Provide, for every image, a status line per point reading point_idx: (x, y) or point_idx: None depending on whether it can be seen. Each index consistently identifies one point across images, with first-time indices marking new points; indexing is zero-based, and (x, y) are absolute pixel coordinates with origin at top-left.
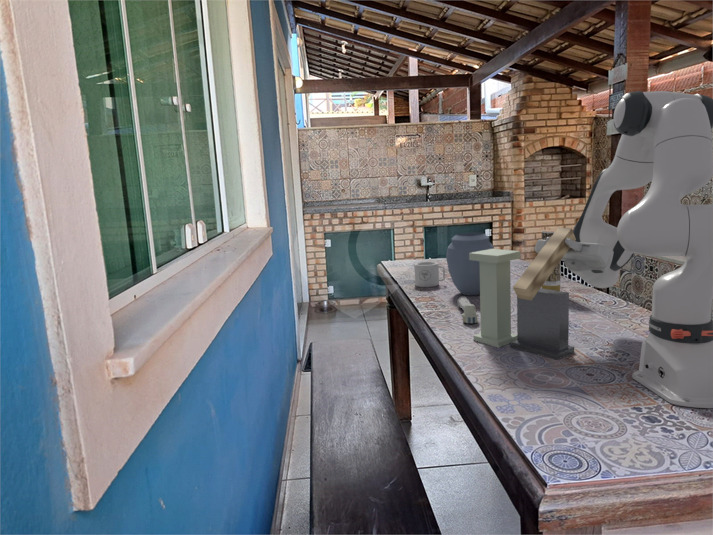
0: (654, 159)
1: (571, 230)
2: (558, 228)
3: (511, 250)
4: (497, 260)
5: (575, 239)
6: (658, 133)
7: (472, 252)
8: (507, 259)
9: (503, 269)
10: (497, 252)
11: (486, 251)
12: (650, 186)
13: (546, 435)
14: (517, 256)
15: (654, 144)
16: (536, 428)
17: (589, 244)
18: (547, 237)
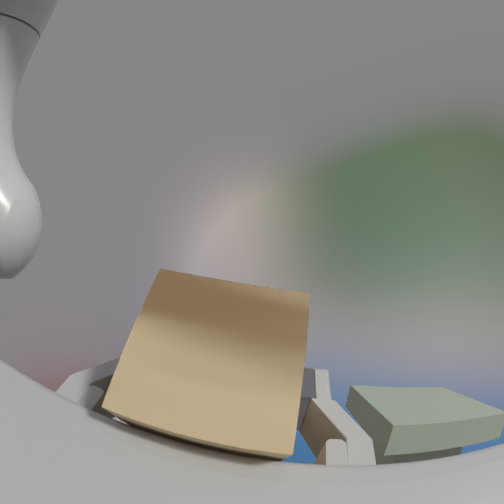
0: (26, 58)
1: (155, 291)
2: (295, 300)
3: (434, 422)
4: (347, 398)
5: (107, 404)
6: (49, 18)
7: (449, 390)
8: (359, 417)
9: (375, 456)
10: (413, 401)
11: (451, 399)
12: (10, 120)
13: (116, 418)
14: (379, 436)
15: (42, 25)
16: (125, 423)
17: (8, 368)
18: (320, 369)
